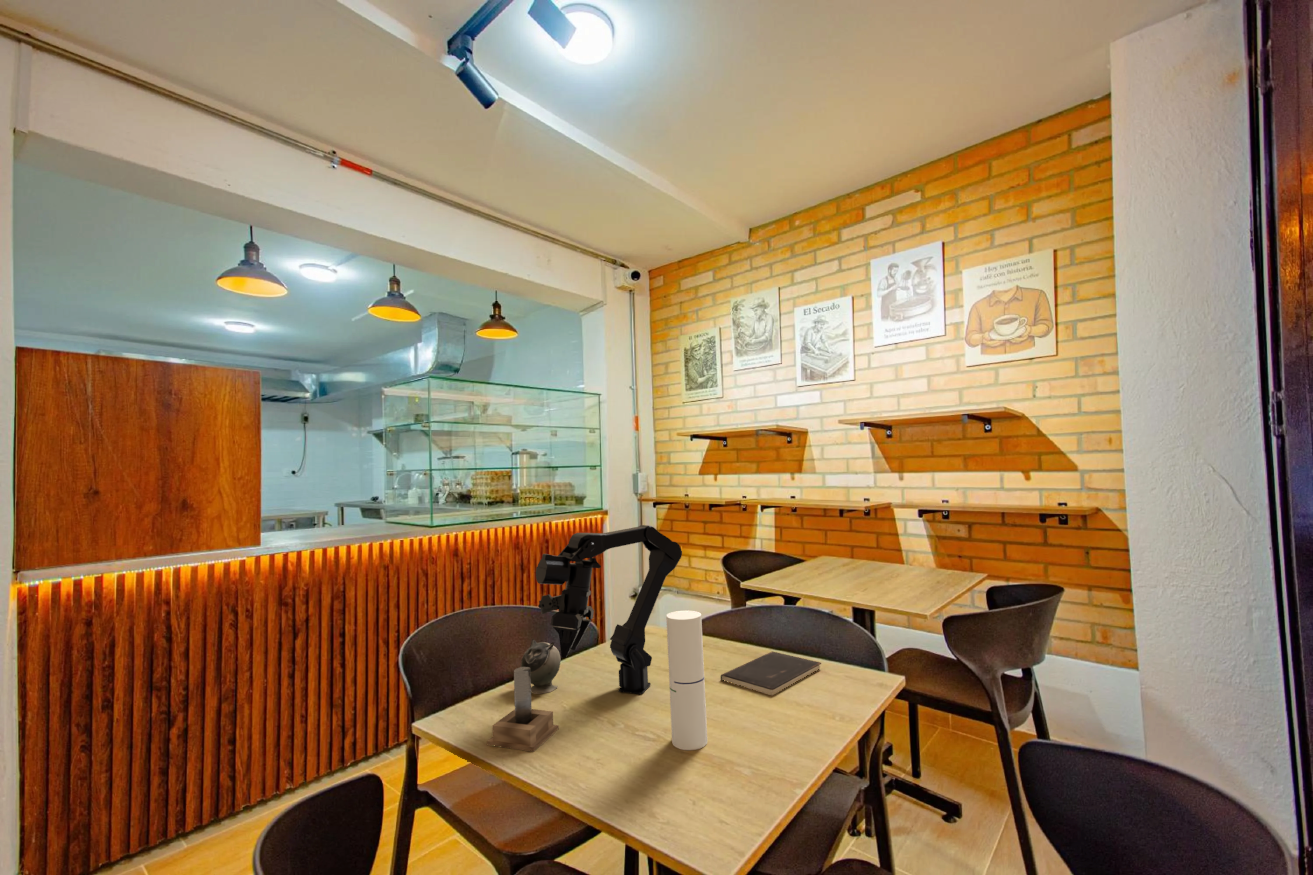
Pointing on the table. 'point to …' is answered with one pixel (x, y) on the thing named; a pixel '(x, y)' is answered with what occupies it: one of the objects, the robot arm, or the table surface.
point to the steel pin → (522, 695)
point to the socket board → (523, 731)
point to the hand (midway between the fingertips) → (568, 653)
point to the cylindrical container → (686, 680)
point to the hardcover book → (771, 672)
